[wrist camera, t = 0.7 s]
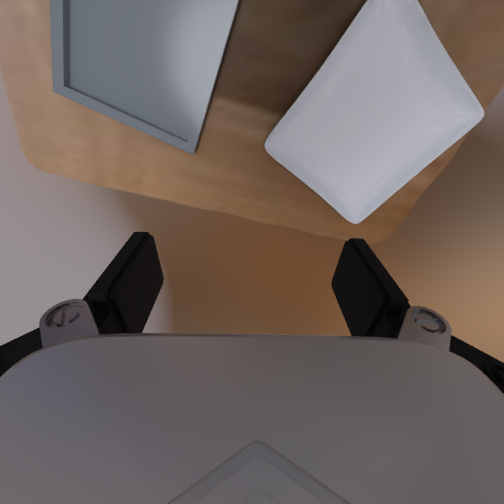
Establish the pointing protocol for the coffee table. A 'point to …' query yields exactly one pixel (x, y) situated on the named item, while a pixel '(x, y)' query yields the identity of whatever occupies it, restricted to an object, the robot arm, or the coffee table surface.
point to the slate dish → (142, 60)
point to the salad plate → (375, 110)
